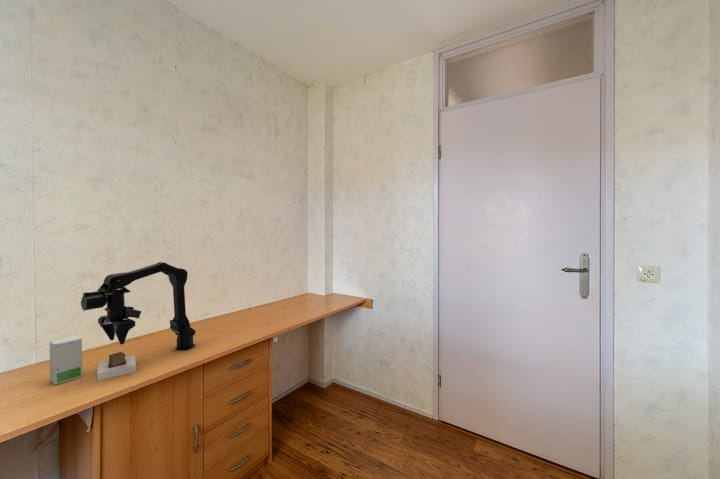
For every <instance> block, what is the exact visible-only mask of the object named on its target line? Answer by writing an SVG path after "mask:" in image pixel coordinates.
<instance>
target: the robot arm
mask: <svg viewBox="0 0 720 479" xmlns="http://www.w3.org/2000/svg"><path fill="white" fill-rule="evenodd" d="M159 273H162V274H163V275H166V276H167V277H168V280H169V283H170V285H171V287H172V295H173V312H174V313H173V314H174V315H173V319H170V320H169V324H170V326H169V329H170V330H171V331H172V332H173V333H174V334H175V336H177V338H176V347H175V348H174V349H175V350H178V351H180V350H181V351H187V350H190V349H191V348H193V347H195V346H196V343H194V336H195V335H196V329H194V328H192V327H191V323H190V320H189V317H188V316H187V312H186V296H185V295H186V293H185V286H186V283H187V281H188V271H187V270H186V269H184V268H181V267H176V266H173V265H171V264H168V263H167V262H163V261H162V262H161V261H158V262H157V263H153V264H150V265H147V266H144V267H142V268H137V269H135V270H131V271H127V272H118V273H111V274H108V275H106V276H105V278H104V279H103V283H102V284H101V285H100V286H99V288H98V289H97V290H96V291H91V292H90V291H87V292H83V293H82V297H81V300H80V306H81V309H82V311H84V312H85V311H89V310H94V309H100V308H101V309H102V308H103V307H104V306H106V307H104V311H105V312H106V315H101V316H100V317H98V319H97V324H98V325H99V326H100V327H101V329H102V330H103V332H104V333H105V335H106V336H107V337H108V339H109V341H113V340H114V341H115V337H116V338H117V340H118V342H119V344H120V345H124V344H125V342H126V339H127V336H128V333H129V331H130V330H131V329H134V327H136V320H134V319H132V318H135V319H140V316H141V314H142V310H138V309H134V307H133V306H129V305H128V306H126V305H125V304H126V302H125V294H128V293H131V290H130V289H128V288H127V287H126V286H129V285H130V284H132V283H133V282H135V281H138V280H140V279H144V278H145V277H146V278H147V277H149V276H152V275H155V274H159Z"/></svg>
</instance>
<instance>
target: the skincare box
mask: <svg viewBox="0 0 720 479" xmlns="http://www.w3.org/2000/svg"><path fill="white" fill-rule="evenodd" d="M82 377H83V339H82V338H81V337H80V336H78V335H75V336H70V337H65V338H59V339H55V340H51V341H49V381H50V382H51V383H52V384H54V386H55V385H56V386H57V385H59V384H62V383H66V382H69V381H73V380H76V379H79V378H82Z"/></svg>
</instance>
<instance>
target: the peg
mask: <svg viewBox="0 0 720 479" xmlns="http://www.w3.org/2000/svg"><path fill="white" fill-rule="evenodd" d="M125 357H126V353H124V352H122V351H118V352H115V353H112V354H109V355H108V361H109V368H112V367H116V366H121V365H125Z"/></svg>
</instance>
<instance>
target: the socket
mask: <svg viewBox="0 0 720 479" xmlns="http://www.w3.org/2000/svg"><path fill="white" fill-rule="evenodd" d="M136 372H137V363H136V355H135V354H134V355H129V356H125V365H121V366H116V367H112V368H109V360H107V361H101V362H99V363H98V365H97V372H96V375H97V376H96V377H97V378H96V379H97V382H100V381H103V380H108V379H112V378H116V377H120V376H124V375H128V374H132V373H136Z"/></svg>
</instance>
